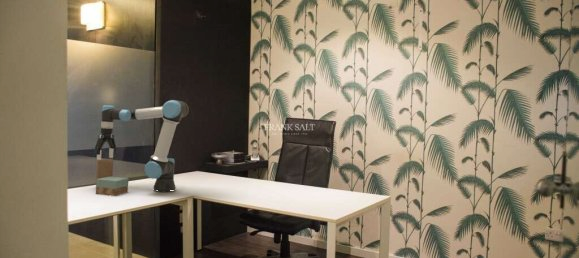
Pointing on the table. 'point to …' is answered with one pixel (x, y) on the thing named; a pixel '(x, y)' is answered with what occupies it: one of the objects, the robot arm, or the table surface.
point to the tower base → (111, 191)
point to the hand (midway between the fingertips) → (105, 158)
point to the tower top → (112, 182)
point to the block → (104, 168)
